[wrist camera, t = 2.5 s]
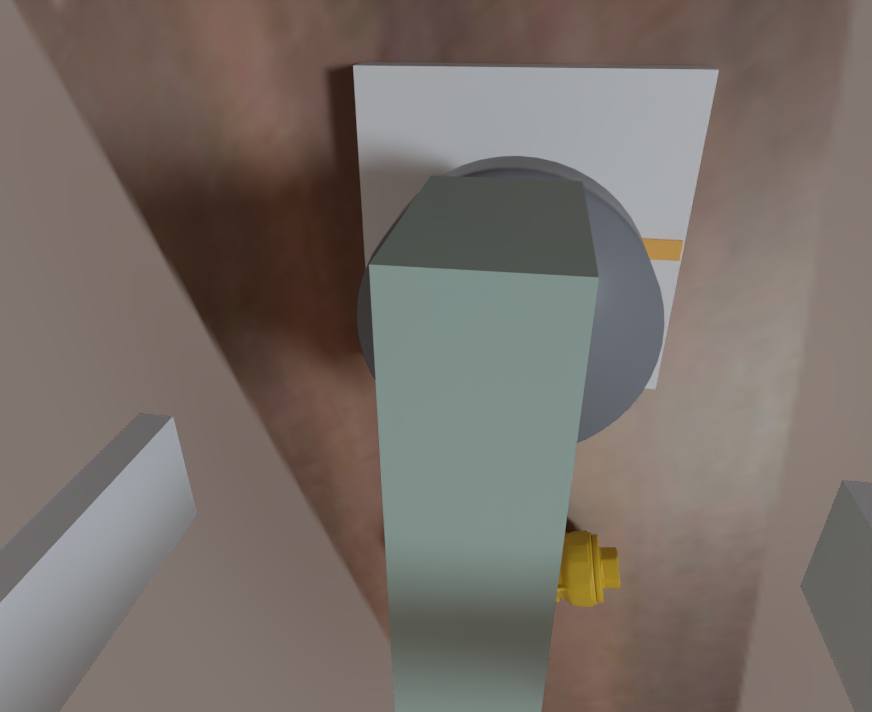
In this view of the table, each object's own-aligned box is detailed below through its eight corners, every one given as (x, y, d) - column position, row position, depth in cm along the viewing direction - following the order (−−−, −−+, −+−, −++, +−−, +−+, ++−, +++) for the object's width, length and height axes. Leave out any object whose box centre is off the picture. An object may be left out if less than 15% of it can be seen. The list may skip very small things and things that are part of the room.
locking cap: (371, 117, 19) (161, 252, 9) (680, 124, 18) (854, 291, 8) (387, 428, 25) (269, 732, 15) (622, 450, 24) (676, 800, 13)
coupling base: (363, 62, 25) (308, 79, 19) (709, 65, 23) (760, 86, 17) (378, 351, 31) (340, 427, 26) (650, 372, 29) (674, 459, 24)
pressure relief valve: (618, 574, 35) (444, 575, 38) (601, 375, 32) (410, 390, 34) (626, 648, 30) (425, 644, 33) (606, 421, 27) (382, 435, 29)
